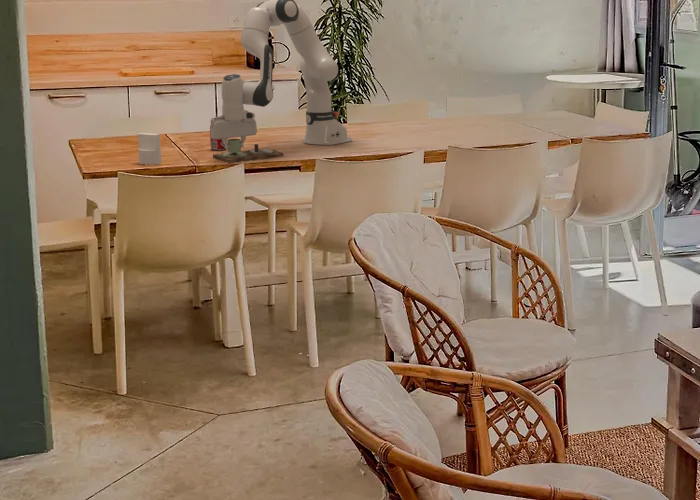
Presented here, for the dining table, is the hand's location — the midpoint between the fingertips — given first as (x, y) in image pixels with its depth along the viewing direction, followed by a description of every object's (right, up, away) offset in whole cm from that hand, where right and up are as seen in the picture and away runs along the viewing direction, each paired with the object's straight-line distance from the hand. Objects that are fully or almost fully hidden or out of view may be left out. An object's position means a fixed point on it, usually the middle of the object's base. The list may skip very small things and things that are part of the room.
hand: (234, 147), depth 417 cm
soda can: (-9, +1, +22) cm, 24 cm away
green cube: (0, -2, 0) cm, 2 cm away
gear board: (+5, -3, +5) cm, 8 cm away
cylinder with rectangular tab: (-34, -7, -7) cm, 35 cm away
